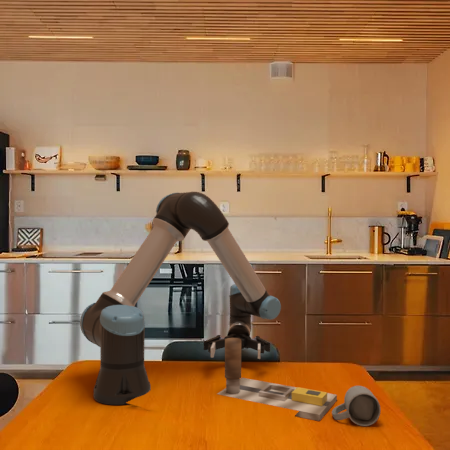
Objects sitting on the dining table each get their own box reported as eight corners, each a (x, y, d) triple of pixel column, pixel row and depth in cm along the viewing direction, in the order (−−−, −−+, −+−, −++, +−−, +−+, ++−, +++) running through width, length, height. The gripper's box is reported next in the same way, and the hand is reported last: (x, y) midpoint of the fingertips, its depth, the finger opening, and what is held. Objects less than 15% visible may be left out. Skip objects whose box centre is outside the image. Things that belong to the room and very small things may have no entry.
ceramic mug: (373, 412, 119) (372, 382, 119) (381, 427, 111) (380, 393, 111) (329, 412, 120) (329, 381, 120) (334, 426, 112) (334, 393, 112)
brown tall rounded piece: (221, 392, 128) (222, 340, 128) (229, 387, 132) (229, 337, 132) (236, 395, 126) (236, 342, 126) (243, 390, 130) (244, 339, 130)
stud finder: (291, 400, 123) (291, 391, 123) (297, 394, 127) (297, 386, 127) (322, 406, 119) (322, 397, 119) (327, 400, 123) (327, 391, 123)
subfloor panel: (216, 399, 128) (216, 389, 128) (241, 382, 141) (242, 373, 141) (319, 421, 114) (319, 409, 114) (336, 400, 127) (336, 390, 127)
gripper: (276, 347, 159) (278, 367, 138) (201, 346, 161) (192, 365, 139) (276, 325, 159) (279, 341, 138) (201, 323, 161) (192, 339, 139)
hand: (235, 353), depth 138 cm, fingers open, 13 cm apart
